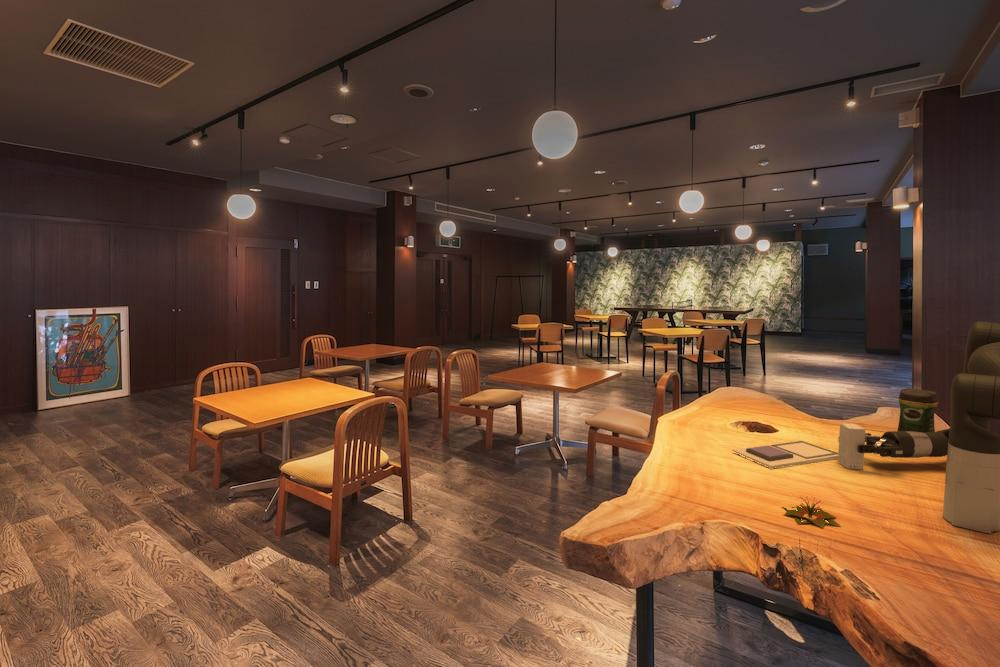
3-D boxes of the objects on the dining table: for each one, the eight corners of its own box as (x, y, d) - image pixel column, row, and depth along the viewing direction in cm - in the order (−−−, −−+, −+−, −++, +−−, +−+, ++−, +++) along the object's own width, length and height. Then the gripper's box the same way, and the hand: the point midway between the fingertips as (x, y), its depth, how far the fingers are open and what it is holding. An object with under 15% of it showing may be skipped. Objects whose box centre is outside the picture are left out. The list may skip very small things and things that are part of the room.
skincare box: (863, 470, 140) (866, 429, 139) (847, 469, 141) (849, 428, 139) (853, 462, 146) (855, 423, 144) (837, 461, 146) (839, 422, 145)
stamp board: (800, 443, 164) (800, 436, 164) (843, 458, 149) (843, 451, 149) (732, 452, 155) (732, 445, 155) (771, 469, 141) (771, 461, 141)
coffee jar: (938, 446, 158) (942, 390, 157) (928, 451, 154) (932, 393, 153) (902, 439, 167) (906, 385, 165) (891, 443, 163) (895, 388, 161)
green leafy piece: (793, 529, 108) (794, 509, 107) (771, 505, 119) (772, 487, 119) (853, 533, 106) (854, 513, 105) (825, 508, 117) (826, 490, 117)
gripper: (888, 424, 148) (833, 424, 149) (927, 439, 134) (866, 439, 135) (887, 448, 149) (832, 448, 150) (925, 465, 135) (864, 465, 136)
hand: (848, 444), depth 143 cm, fingers open, 8 cm apart
